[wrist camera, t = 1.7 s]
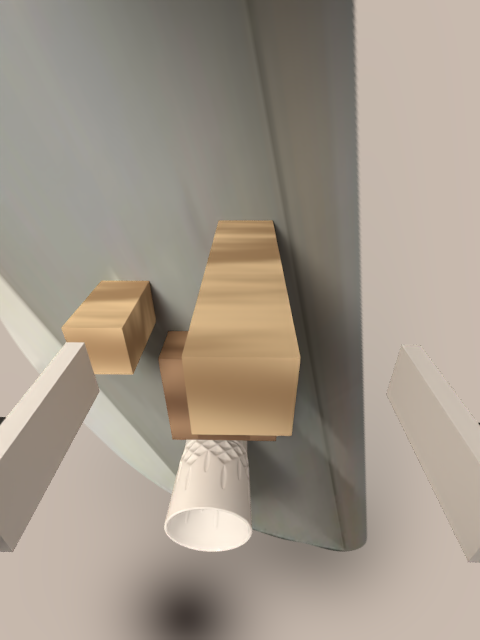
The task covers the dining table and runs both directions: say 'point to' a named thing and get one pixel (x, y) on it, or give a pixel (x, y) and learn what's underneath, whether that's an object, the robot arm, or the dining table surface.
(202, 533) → the white cup
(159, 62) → the dining table surface
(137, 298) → the short oak peg
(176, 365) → the walnut hole block
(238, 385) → the long oak peg
